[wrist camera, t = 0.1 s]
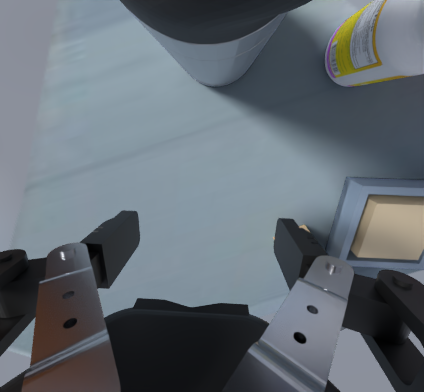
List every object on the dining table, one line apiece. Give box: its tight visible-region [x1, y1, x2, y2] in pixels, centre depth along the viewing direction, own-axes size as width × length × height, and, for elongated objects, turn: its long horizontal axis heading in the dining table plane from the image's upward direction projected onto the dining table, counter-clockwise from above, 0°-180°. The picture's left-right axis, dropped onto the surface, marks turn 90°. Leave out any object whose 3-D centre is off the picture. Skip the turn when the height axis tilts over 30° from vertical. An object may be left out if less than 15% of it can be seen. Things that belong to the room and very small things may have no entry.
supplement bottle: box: [325, 0, 424, 87], centre depth 17 cm, size 7×7×13 cm
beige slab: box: [350, 194, 424, 260], centre depth 28 cm, size 8×8×3 cm
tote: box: [325, 177, 424, 270], centre depth 29 cm, size 12×12×4 cm
